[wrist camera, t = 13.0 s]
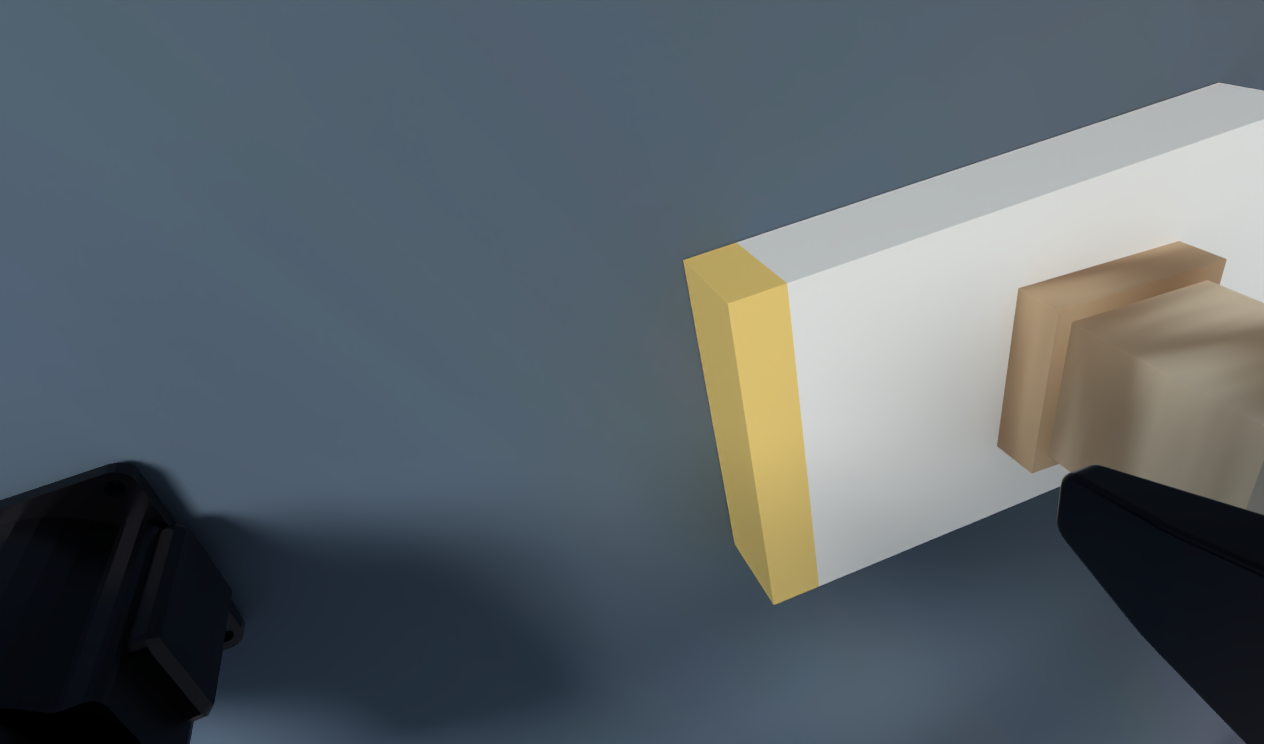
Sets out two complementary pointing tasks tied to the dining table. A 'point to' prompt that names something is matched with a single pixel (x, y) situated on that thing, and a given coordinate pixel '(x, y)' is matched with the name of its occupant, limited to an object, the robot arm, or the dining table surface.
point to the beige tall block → (1141, 375)
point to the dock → (939, 326)
